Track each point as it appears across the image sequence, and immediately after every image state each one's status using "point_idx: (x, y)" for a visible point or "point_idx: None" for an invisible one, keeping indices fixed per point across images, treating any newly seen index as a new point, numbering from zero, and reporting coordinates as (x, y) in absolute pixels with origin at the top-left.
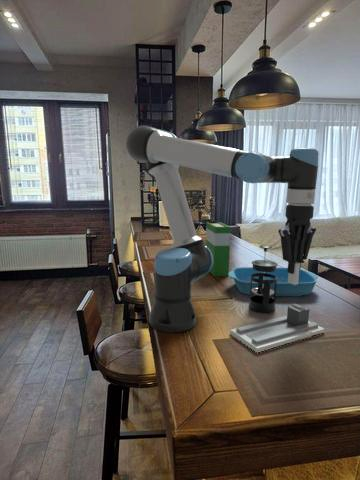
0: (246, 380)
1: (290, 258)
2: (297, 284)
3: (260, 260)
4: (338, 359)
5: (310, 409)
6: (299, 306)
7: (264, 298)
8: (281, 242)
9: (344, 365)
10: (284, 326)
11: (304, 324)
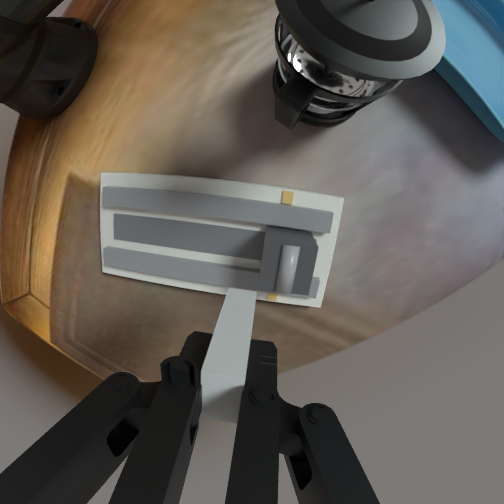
0: (63, 304)
1: (128, 432)
2: (493, 117)
3: None
4: None
5: (105, 377)
6: (285, 276)
7: (276, 113)
8: (9, 469)
9: None
10: (235, 239)
11: None
